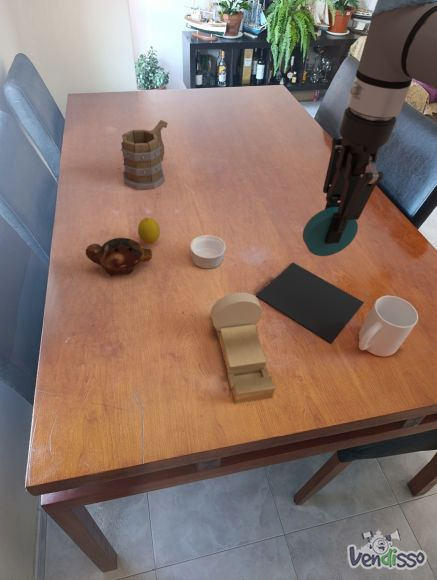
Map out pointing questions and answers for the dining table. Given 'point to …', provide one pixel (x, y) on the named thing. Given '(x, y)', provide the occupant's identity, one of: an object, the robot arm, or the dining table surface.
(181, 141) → the dining table surface
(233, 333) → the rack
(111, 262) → the brown piece
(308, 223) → the teal disc
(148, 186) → the tankard
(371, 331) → the mug
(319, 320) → the mat
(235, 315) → the cream disc
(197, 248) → the ramekin
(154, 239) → the lemon
